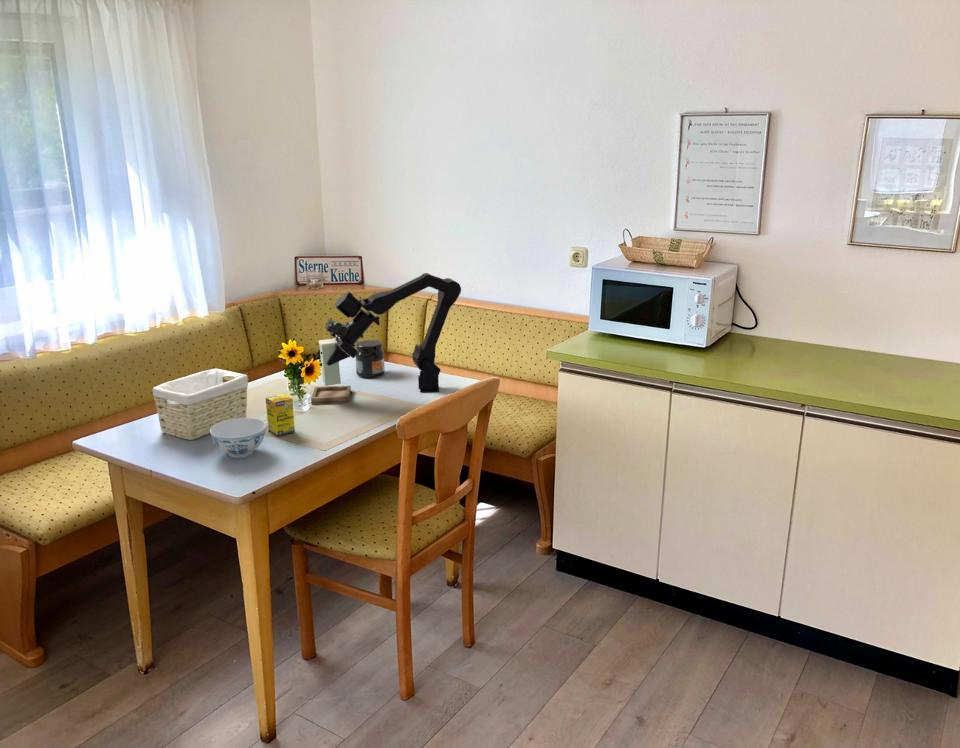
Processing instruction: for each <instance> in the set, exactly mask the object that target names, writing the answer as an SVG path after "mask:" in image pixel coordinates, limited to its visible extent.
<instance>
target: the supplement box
mask: <svg viewBox="0 0 960 748" xmlns="http://www.w3.org/2000/svg"><path fill="white" fill-rule="evenodd" d="M265 405H266V407H265V408H266V418H267V419H266V420H267V430H268V432H269V433H270V434H271V435H273V436H275V437H277V438H279V437H281V436H286V435H288V433H289V434H293V432H294V433H296V431H295V430H296V428H295V416H294V402H293V397H291V396H289V395H287V394H285V393H281V394H277V395H272V396H267V397H265Z"/></svg>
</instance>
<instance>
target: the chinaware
mask: <svg viewBox="0 0 960 748" xmlns="http://www.w3.org/2000/svg"><path fill="white" fill-rule="evenodd" d="M266 432H267V423H266V422H265V421H264V420H261V419H259V418H255V417H246V418H237V419H231V420H226V421H223V422H220V423H218V424H216V425H214V426H213V427H212V428H211V429H210V433H209V435H210V436H211V439H212V440H213V442H214V444H215V445H216V447H218V448H219V449H220V450H221V451H222V452H224V453H227V454H228V456H229V457H230V456H232V457H231V458H234V457H242V458H246V457H245V456H247V457H249V456H251V455H252V454H253V453H254V450H256V449H257V448H258V447H259V446H260V445H261V443H262V442H263V440H264V439H265V436H266ZM250 454H251V455H250ZM248 455H249V456H248Z"/></svg>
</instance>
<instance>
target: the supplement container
mask: <svg viewBox="0 0 960 748" xmlns="http://www.w3.org/2000/svg"><path fill="white" fill-rule="evenodd" d="M383 347H384V346H383V342H382V341H380V340H375V339H366V340H361V341H357V342H356V343H355V348H356V349H357V355H356V356H355V369H356V371H355V374H356V376H358V377H360V378H361V377H362V378H363V379H378V378H381V377H382V376H384V375H385V373H386V368H385V367H386V365H385V351H384V350H383Z"/></svg>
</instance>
